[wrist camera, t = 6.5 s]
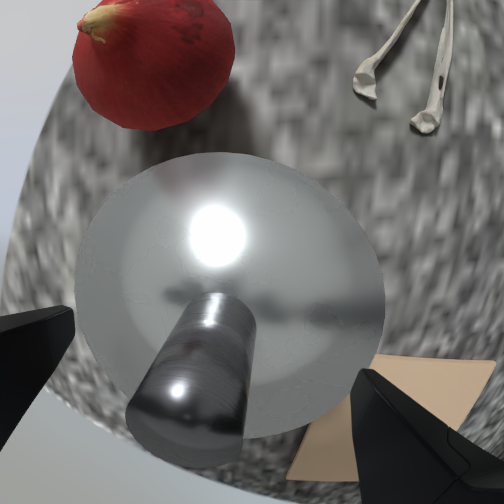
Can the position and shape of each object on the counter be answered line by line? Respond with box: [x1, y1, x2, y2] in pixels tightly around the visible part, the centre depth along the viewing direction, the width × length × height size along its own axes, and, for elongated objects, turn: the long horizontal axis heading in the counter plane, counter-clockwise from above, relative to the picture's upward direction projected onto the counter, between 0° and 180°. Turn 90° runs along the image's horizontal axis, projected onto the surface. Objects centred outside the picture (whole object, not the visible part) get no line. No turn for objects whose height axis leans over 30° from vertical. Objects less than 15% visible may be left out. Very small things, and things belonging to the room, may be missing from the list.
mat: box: [286, 354, 497, 482], centre depth 17 cm, size 12×12×1 cm
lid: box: [75, 152, 385, 468], centre depth 9 cm, size 12×12×6 cm
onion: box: [72, 0, 235, 131], centre depth 9 cm, size 6×6×8 cm
